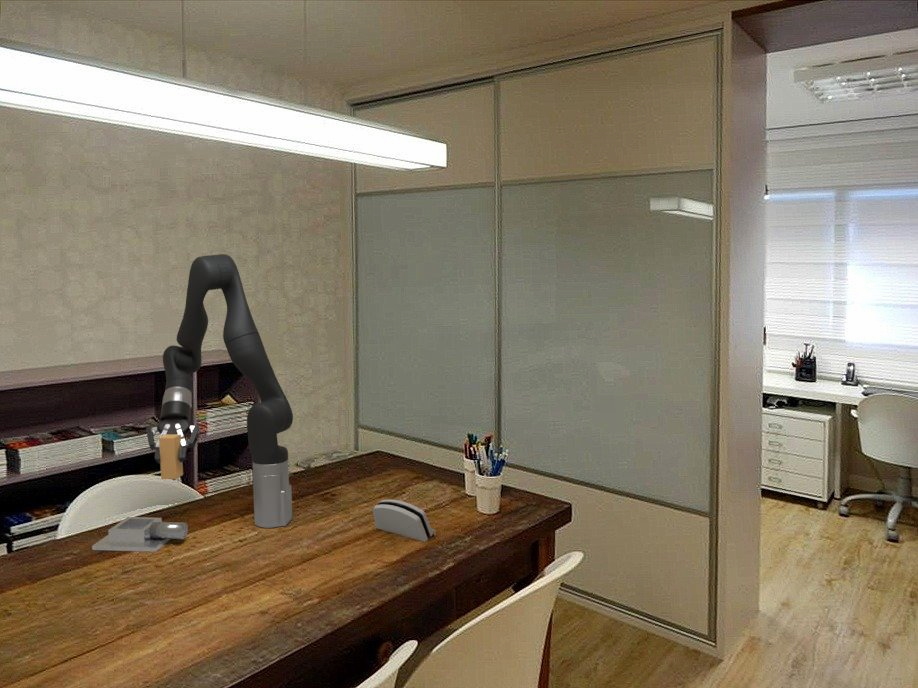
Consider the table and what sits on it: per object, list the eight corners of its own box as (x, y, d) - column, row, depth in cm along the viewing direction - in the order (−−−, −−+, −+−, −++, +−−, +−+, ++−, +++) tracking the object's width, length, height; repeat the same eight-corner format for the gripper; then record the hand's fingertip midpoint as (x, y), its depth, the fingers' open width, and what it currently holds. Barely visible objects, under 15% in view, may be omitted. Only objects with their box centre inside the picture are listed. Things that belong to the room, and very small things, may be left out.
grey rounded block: (437, 535, 183) (429, 504, 179) (426, 547, 180) (418, 515, 176) (387, 521, 192) (378, 491, 188) (376, 532, 189) (367, 502, 185)
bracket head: (195, 533, 184) (194, 514, 184) (173, 552, 172) (172, 532, 172) (118, 531, 186) (117, 512, 185) (92, 549, 174) (90, 530, 173)
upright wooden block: (183, 474, 190) (180, 434, 189) (176, 479, 186) (173, 438, 185) (168, 474, 190) (166, 434, 189) (161, 479, 186) (158, 438, 185)
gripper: (146, 400, 192) (137, 456, 182) (201, 398, 195) (196, 453, 184) (151, 415, 198) (143, 470, 187) (205, 413, 200) (200, 466, 190)
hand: (169, 461), depth 186 cm, fingers closed on upright wooden block, 5 cm apart
